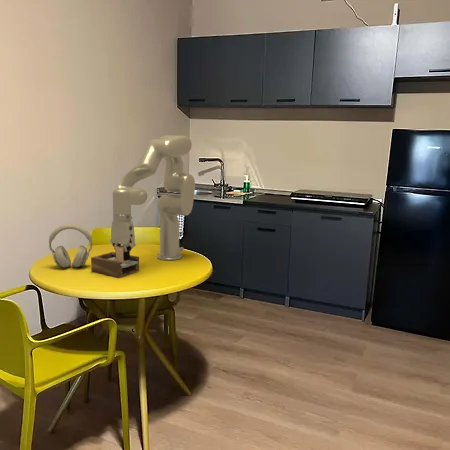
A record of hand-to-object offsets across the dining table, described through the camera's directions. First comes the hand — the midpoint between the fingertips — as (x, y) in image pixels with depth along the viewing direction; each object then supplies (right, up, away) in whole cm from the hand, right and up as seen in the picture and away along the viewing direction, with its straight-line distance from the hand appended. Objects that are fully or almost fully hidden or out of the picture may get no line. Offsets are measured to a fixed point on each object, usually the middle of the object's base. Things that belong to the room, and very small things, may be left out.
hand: (122, 258), depth 199 cm
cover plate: (-2, -2, +2) cm, 4 cm away
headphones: (-25, -5, +9) cm, 27 cm away
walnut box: (-4, -6, +3) cm, 8 cm away
